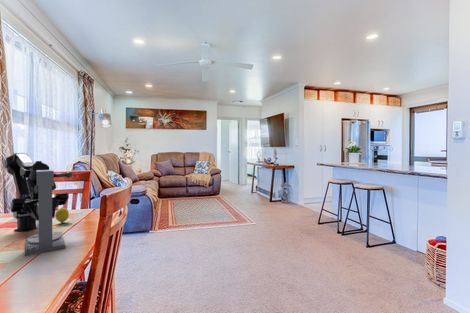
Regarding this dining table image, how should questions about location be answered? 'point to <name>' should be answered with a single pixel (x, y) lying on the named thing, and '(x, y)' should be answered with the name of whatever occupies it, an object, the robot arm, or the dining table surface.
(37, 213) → the silver metal bottle
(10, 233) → the dining table surface
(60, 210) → the lemon
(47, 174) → the stand
